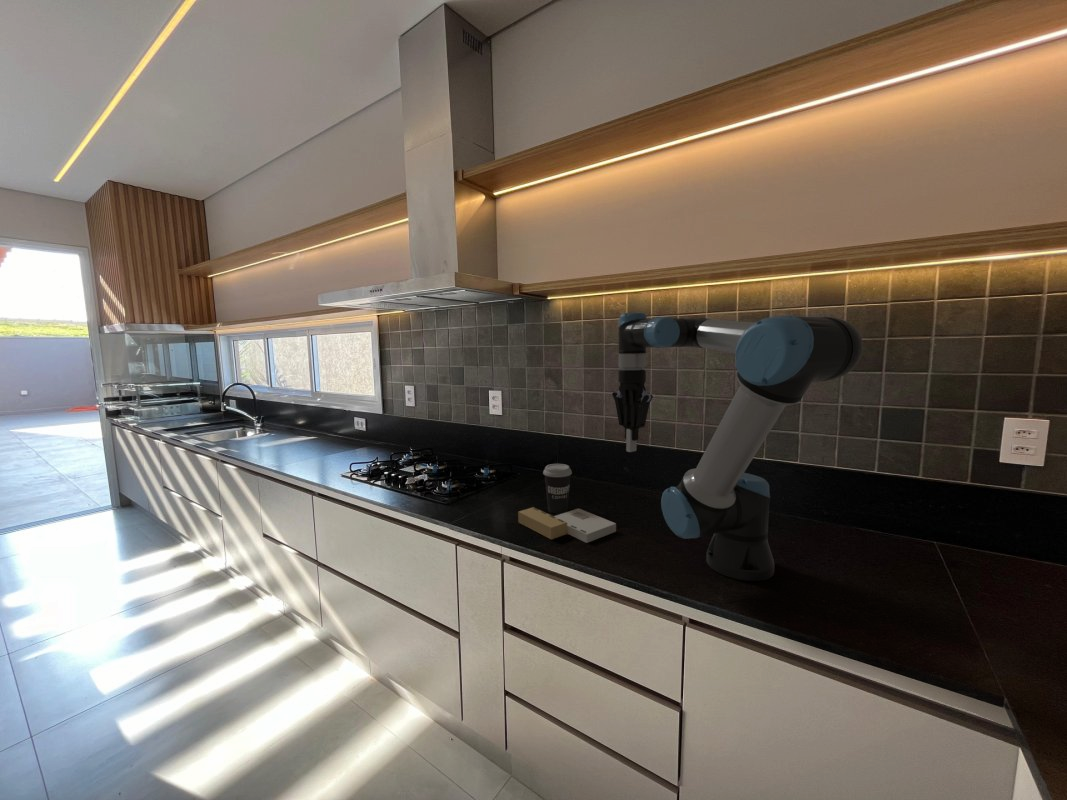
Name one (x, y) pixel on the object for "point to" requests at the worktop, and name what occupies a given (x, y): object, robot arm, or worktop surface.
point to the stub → (542, 523)
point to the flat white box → (586, 525)
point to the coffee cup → (557, 487)
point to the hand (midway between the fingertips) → (631, 450)
